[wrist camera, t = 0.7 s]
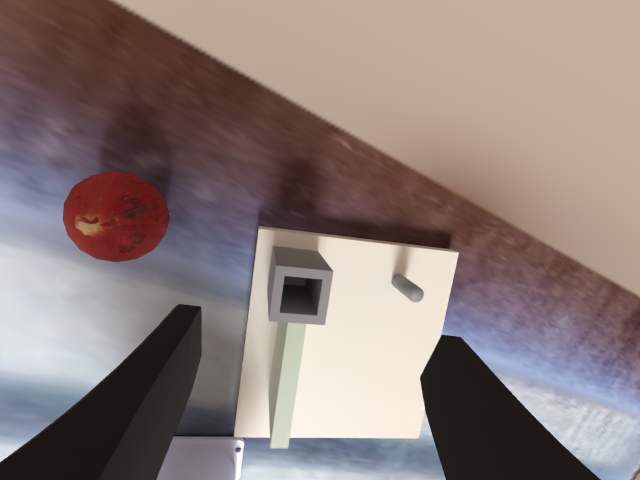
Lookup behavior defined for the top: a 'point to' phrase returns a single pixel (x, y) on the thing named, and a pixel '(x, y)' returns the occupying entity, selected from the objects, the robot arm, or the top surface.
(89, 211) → the onion
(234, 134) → the top surface
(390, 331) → the board
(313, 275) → the door leaf
